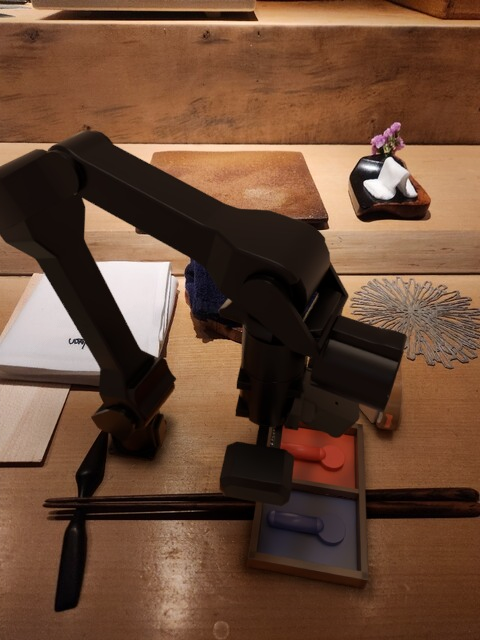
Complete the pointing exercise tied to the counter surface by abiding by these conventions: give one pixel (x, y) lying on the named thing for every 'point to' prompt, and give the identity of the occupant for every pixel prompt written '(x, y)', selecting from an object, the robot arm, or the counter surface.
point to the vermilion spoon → (317, 454)
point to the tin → (393, 405)
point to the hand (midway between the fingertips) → (262, 452)
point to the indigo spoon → (310, 525)
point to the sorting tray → (318, 514)
